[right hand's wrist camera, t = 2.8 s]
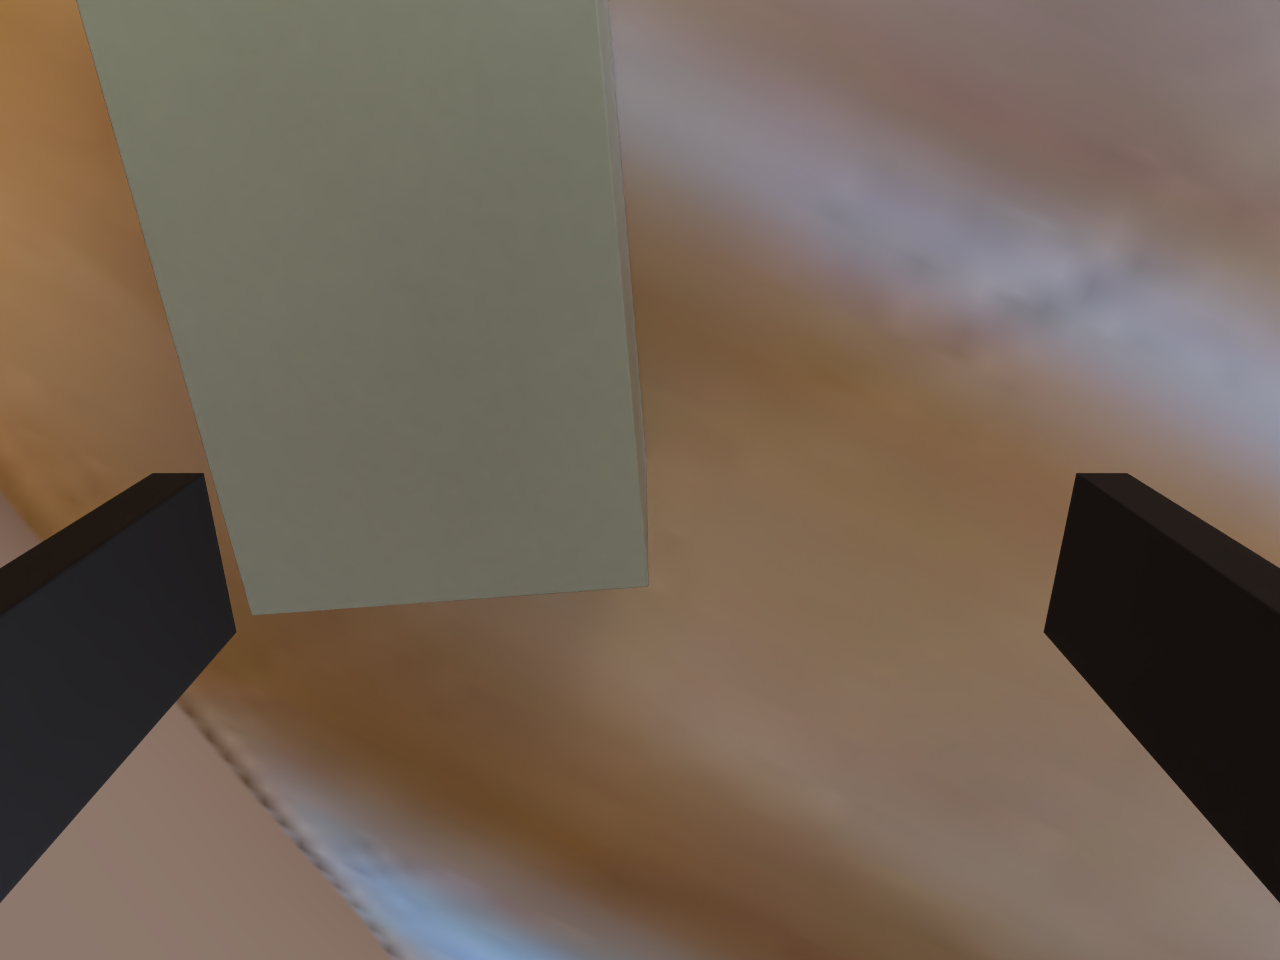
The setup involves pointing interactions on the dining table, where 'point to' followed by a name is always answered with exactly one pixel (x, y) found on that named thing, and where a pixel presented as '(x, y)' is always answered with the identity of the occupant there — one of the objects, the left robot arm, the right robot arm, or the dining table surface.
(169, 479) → the right robot arm
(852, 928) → the dining table surface
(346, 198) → the cabinet
